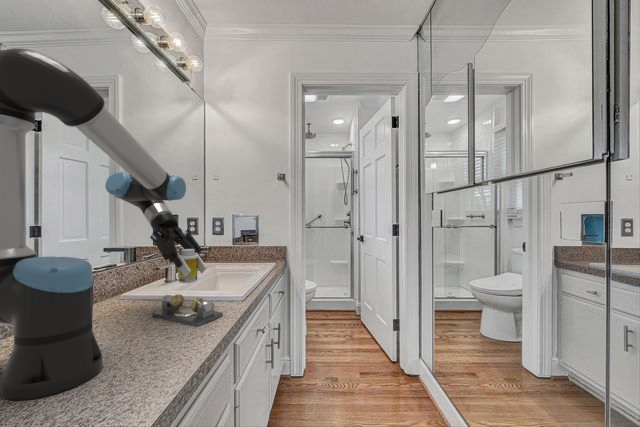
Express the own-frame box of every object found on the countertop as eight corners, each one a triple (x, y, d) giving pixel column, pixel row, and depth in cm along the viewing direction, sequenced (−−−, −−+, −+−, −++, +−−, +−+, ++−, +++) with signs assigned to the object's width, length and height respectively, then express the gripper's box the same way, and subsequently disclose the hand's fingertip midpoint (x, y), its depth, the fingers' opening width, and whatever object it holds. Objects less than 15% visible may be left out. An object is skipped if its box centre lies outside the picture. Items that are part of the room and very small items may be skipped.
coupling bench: (197, 326, 87) (197, 304, 87) (152, 316, 96) (152, 296, 96) (222, 316, 96) (222, 296, 96) (179, 308, 105) (179, 289, 105)
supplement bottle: (199, 281, 96) (199, 249, 96) (181, 284, 92) (181, 251, 92) (194, 279, 100) (194, 248, 100) (176, 281, 97) (176, 249, 97)
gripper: (179, 226, 112) (212, 274, 104) (129, 228, 95) (163, 286, 88) (189, 212, 109) (224, 260, 102) (139, 211, 93) (176, 269, 85)
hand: (196, 272), depth 95 cm, fingers closed on supplement bottle, 5 cm apart
